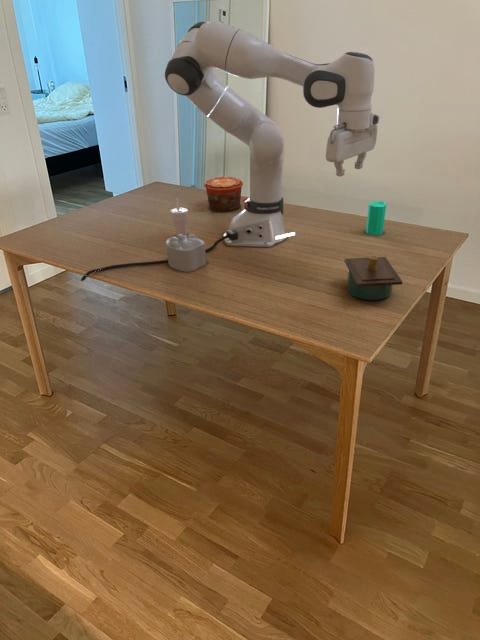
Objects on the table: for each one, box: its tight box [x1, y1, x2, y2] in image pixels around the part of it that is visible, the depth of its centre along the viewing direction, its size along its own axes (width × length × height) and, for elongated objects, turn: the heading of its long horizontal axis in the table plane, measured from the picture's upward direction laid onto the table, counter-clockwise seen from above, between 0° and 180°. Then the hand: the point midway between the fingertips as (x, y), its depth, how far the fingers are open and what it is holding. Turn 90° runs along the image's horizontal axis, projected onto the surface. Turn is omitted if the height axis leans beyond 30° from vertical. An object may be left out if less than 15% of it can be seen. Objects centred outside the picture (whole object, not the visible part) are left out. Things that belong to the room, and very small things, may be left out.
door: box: [343, 255, 403, 286], centre depth 136 cm, size 12×16×4 cm
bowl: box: [346, 270, 393, 301], centre depth 139 cm, size 12×12×6 cm
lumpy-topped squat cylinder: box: [165, 233, 207, 273], centre depth 159 cm, size 10×13×9 cm
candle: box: [365, 200, 387, 236], centre depth 175 cm, size 6×6×12 cm
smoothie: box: [169, 198, 189, 236], centre depth 178 cm, size 6×6×14 cm
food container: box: [203, 176, 244, 213], centre depth 204 cm, size 16×16×11 cm
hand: (349, 172), depth 140 cm, fingers open, 8 cm apart
